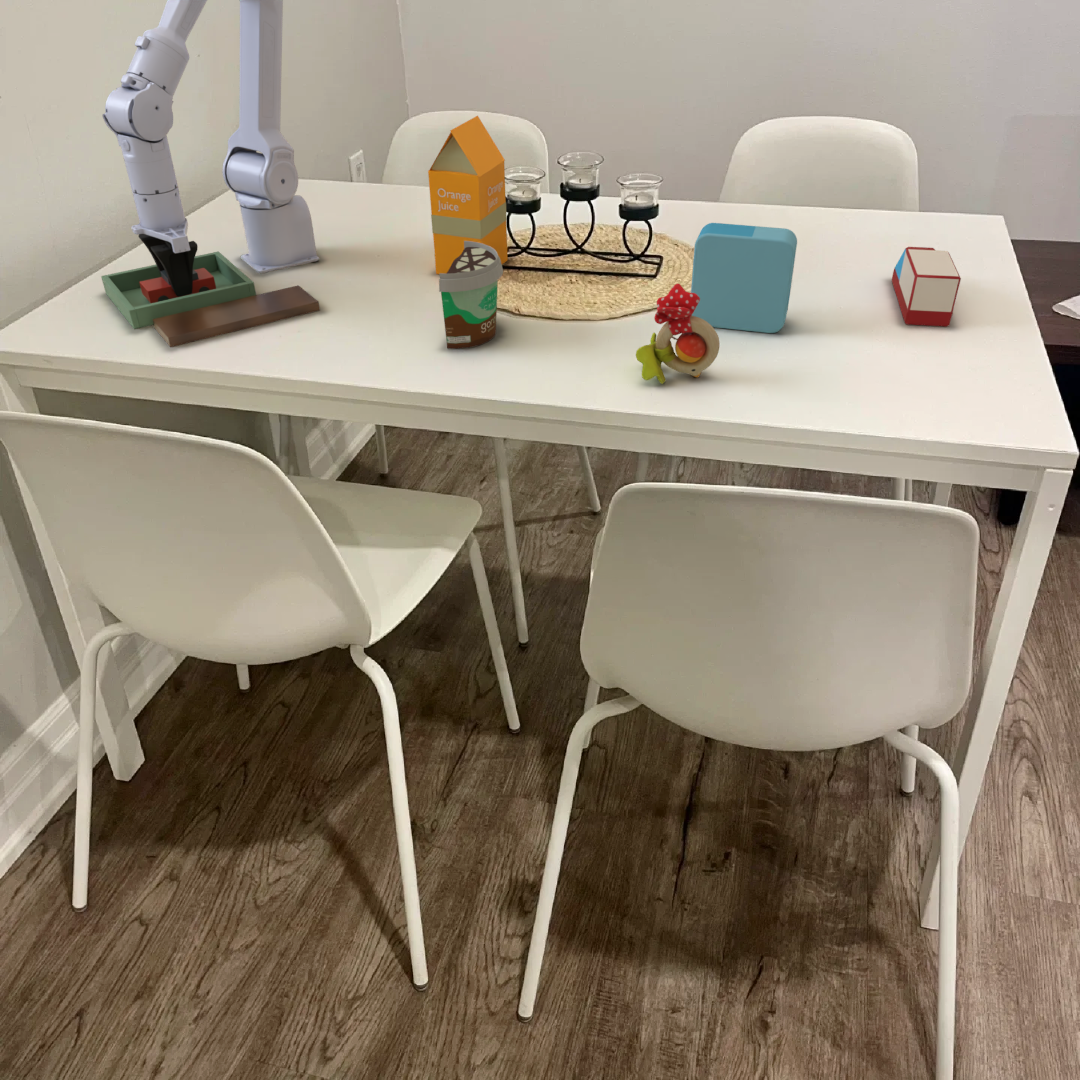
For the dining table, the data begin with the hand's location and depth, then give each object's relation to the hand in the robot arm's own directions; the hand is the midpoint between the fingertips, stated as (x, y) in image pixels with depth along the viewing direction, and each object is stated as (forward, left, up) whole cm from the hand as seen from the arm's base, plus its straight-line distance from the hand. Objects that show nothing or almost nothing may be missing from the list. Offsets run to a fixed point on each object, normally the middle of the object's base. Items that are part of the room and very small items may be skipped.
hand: (178, 288), depth 137 cm
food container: (-28, +34, -2) cm, 44 cm away
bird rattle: (-41, +57, -2) cm, 70 cm away
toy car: (0, 0, -1) cm, 1 cm away
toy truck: (-81, +59, -2) cm, 100 cm away
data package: (-57, +50, -2) cm, 76 cm away
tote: (0, 0, -1) cm, 1 cm away
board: (-4, +12, -1) cm, 13 cm away
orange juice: (-39, +13, -2) cm, 41 cm away
